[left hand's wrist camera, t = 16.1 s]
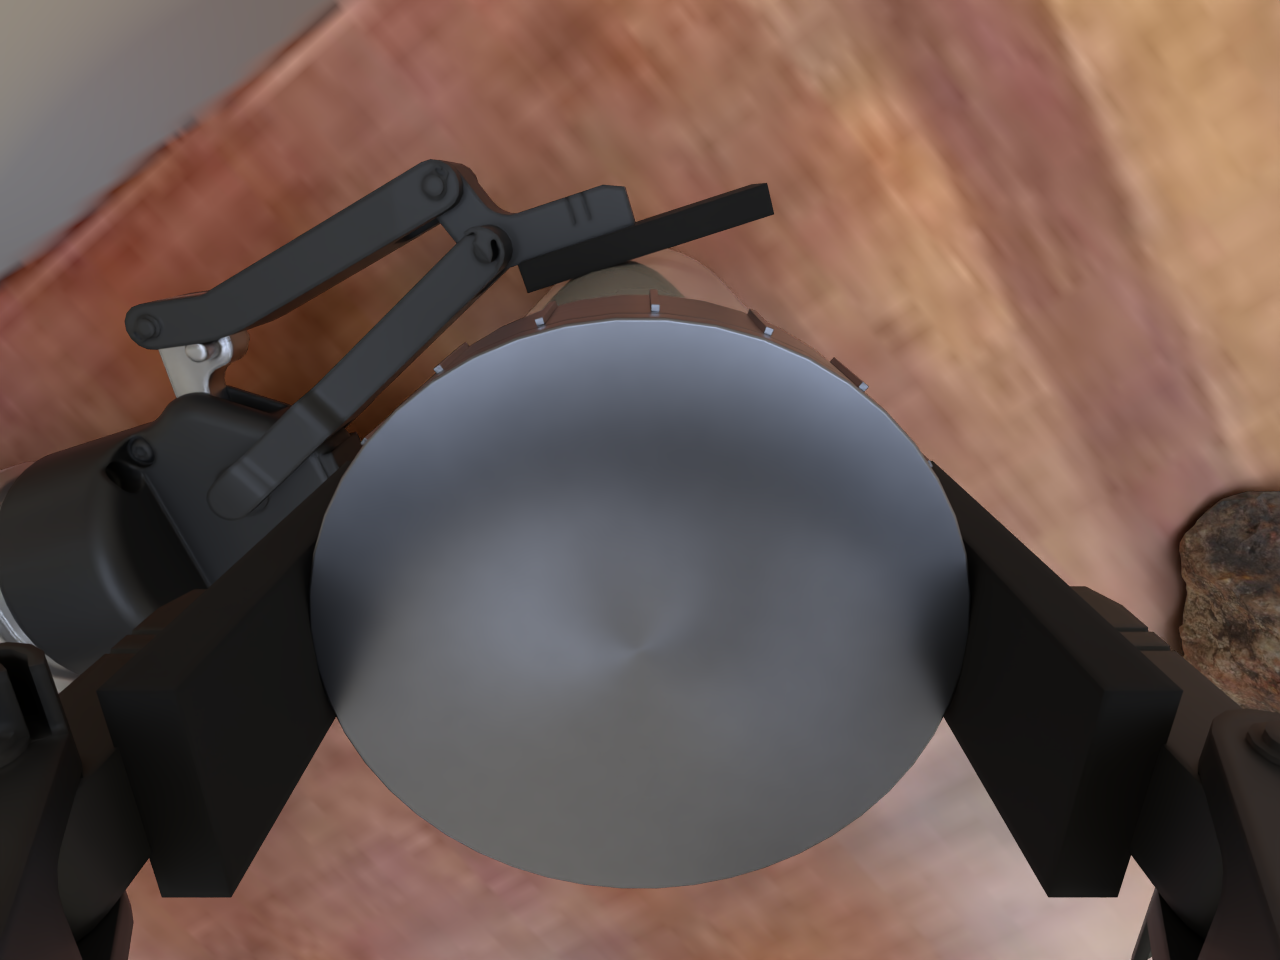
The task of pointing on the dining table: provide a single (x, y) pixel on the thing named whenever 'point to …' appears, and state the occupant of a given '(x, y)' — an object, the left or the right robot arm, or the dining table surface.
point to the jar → (647, 282)
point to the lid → (639, 595)
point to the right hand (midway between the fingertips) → (798, 359)
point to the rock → (1235, 598)
